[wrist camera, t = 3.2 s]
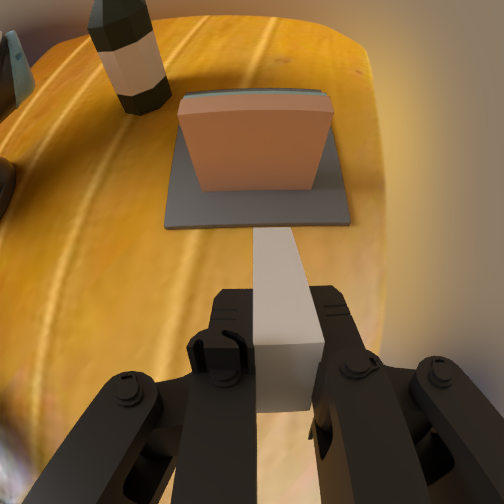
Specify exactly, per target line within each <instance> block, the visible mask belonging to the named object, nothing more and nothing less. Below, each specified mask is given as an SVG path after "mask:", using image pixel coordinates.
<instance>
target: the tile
mask: <svg viewBox="0 0 504 504" xmlns="http://www.w3.org/2000/svg"><path fill="white" fill-rule="evenodd" d="M333 114H334V110H333V107H332V104H331V100H330V97H329V96H327V95H326V93H318V92H300V91H238V92H220V93H207V94H196V95H187V96H184V97H183V99H181V100H180V105H179V109H178V114H177V116H178V119H179V123H180V126H181V129H182V132H183V135H184V138H185V142H186V145H187V148H188V151H189V154H190V157H191V160H192V163H193V166H194V169H195V172H196V175H197V178H198V181H199V184H200V187H201V190H202V192H218V191H247V190H311V188H312V185H313V182H314V179H315V176H316V172H317V169H318V166H319V162H320V159H321V156H322V152H323V149H324V146H325V142H326V139H327V135H328V132H329V128H330V125H331V121H332V118H333Z"/></svg>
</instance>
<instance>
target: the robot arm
mask: <svg viewBox="0 0 504 504" xmlns="http://www.w3.org/2000/svg"><path fill="white" fill-rule="evenodd" d="M34 88H35V80H34V78H33V75H32V72H31V70H30V67H29V64H28V62H27V59H26V57H25V54H24V52H23V49H22V47H21V44H20V41H19V39H18V36H17V34H16V31H14V30H13V31H11V32H8V33H6V35H5V36H4V35H3V34H2V32H1V31H0V123H1V122H2V121H3V120H5V119H6V118H7V117H8V116H9V115H10V114H11V113H12V112H13V111H14V110H15V109H18V107H19V105H20V104H21V103H22V102H23V101H24V100H25V99H27V98H28V97H29V96H30V95H31V94H32V92H33V90H34ZM15 181H16V170H15V167H14V166H13V165H12V164H11V163H10V162H9V161H8V160H7V159H5V158H3V157H0V218H1V217H2V215H3V213H4V211H5V209H6V207H7V205H8V203H9V201H10V198H11V196H12V193H13V190H14V186H15ZM186 348H187V352H188V356H189V360H190V364H191V368H192V372H191V373H189V374H187V375H185V376H183V377H180V378H177V379H173V380H167V381H162V382H156V383H155V382H154V380H153V379H152V378H151V377H150V376H148V375H146V374H144V373H143V372H136V371H128V372H122V373H120V374H118V375H116V376H113V377H112V378H111V379H110V380H109V381H108V382H107V383H105V385H104V386H103V387H102V389H101V390H100V391H99V393H98V394H97V395H96V397H95V398H94V399H93V401H92V402H91V404H90V405H89V406H88V408H87V409H86V410H85V412H84V413H83V415H82V416H81V417H80V419H79V420H78V421H77V423H76V424H75V426H74V427H73V428H72V430H71V431H70V433H69V434H68V435H67V437H66V438H65V440H64V441H63V443H62V444H61V445H60V447H59V448H58V450H57V451H56V453H55V454H54V456H53V457H52V458H51V460H50V461H49V463H48V464H47V466H46V467H45V469H44V470H43V472H42V473H41V475H40V476H39V478H38V479H37V481H36V482H35V484H34V485H33V487H32V488H31V490H30V491H29V493H28V495H27V496H26V498H25V499H24V501H23V502H22V504H158V503H159V501H160V499H161V497H162V495H163V493H164V490H165V488H166V486H167V484H168V482H169V480H170V478H171V476H172V474H173V472H174V470H175V467H176V471H175V478H174V484H173V491H172V497H171V504H257V423H256V413H274V412H294V411H307V410H310V407H311V403H312V404H313V410H314V418H313V421H312V424H311V428H310V431H309V437H308V440H310V439H312V438H313V439H314V447H315V454H316V462H317V470H318V478H319V486H320V495H321V504H504V418H503V417H502V416H501V415H500V414H499V412H498V411H497V410H496V409H495V407H494V406H493V405H492V404H491V403H490V402H489V400H488V399H487V398H486V397H485V396H484V394H483V393H482V392H481V391H480V390H479V389H478V388H477V386H476V385H475V384H474V383H473V382H472V381H471V380H470V379H469V377H468V376H467V375H466V374H465V373H464V372H463V371H462V370H461V368H459V366H458V365H456V364H455V363H454V362H453V361H452V360H450V359H447V358H444V357H441V356H431V357H427V358H425V359H424V360H422V361H421V362H420V363H419V365H418V367H417V369H416V370H414V369H404V368H394V367H389V366H386V365H383V363H382V361H381V360H380V359H379V357H378V356H377V355H375V354H374V353H372V352H371V351H369V350H366V349H365V346H364V344H363V342H362V339H361V337H360V334H359V332H358V329H357V327H356V325H355V322H354V320H353V318H352V315H351V313H350V311H349V308H348V307H347V304H346V302H345V299H344V297H343V295H342V293H340V292H339V291H338V290H337V289H336V288H335V287H333V286H332V285H328V286H309V285H308V282H307V279H306V275H305V272H304V269H303V265H302V262H301V259H300V256H299V252H298V249H297V246H296V243H295V240H294V237H293V234H292V230H291V227H265V228H253V289H222V290H221V291H220V292H219V293H218V295H217V296H216V297H215V298H214V301H213V306H212V312H211V316H210V322H209V327H208V329H205V330H202V331H200V332H198V333H197V334H196V335H195V336H193V337H192V338H191V339H190V341H189V343H188V345H187V347H186Z"/></svg>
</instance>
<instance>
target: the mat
mask: <svg viewBox="0 0 504 504" xmlns="http://www.w3.org/2000/svg"><path fill="white" fill-rule="evenodd" d="M238 91H300V92H318V93H322V92H321V90H314V89H293V88H245V89H224V90H210V91H199V92H190V93H186V94H185V96H187V95H196V94H207V93H220V92H238ZM350 223H351V221H350V215H349V209H348V203H347V198H346V192H345V187H344V182H343V177H342V172H341V167H340V163H339V158H338V154H337V149H336V145H335V141H334V137H333V133H332V129H331V125H330V128H329V132H328V135H327V139H326V142H325V146H324V149H323V152H322V156H321V159H320V162H319V166H318V169H317V172H316V176H315V179H314V182H313V185H312V188H311V190H247V191H218V192H202V190H201V187H200V184H199V181H198V178H197V175H196V172H195V169H194V166H193V163H192V160H191V157H190V154H189V151H188V148H187V145H186V142H185V138H184V135H183V132H182V129H181V126H180V123H179V128H178V133H177V139H176V144H175V150H174V156H173V162H172V169H171V175H170V182H169V189H168V197H167V204H166V213H165V221H164V228H165V229H166V230H170V229H195V228H226V227H266V226H349V224H350Z"/></svg>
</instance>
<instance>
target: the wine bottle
mask: <svg viewBox="0 0 504 504" xmlns="http://www.w3.org/2000/svg"><path fill="white" fill-rule="evenodd" d="M88 31H89V34H90V36H91V38H92V41H93V43H94V45H95V48H96V50H97V52H98V55H99V57H100V59H101V61H102V63H103V66H104V68H105V70H106V72H107V74H108V77H109V79H110V81H111V83H112V85H113V87H114V89H115V92H116V94H117V96H118V98H119V100H120V102H121V104H122V106H123V108H124V110H125V112H126V113H130V114H135V115H139V116H140V115H143V114H146V113H148V112H151V111H154V110H156V109H159V108H161V106H162V105H163V104H164V103H165V102H166V101H167V100H168V99H169V98H170V97H171V96H172V94H171V90H170V87H169V83H168V80H167V77H166V73H165V70H164V66H163V63H162V59H161V56H160V52H159V49H158V45H157V42H156V38H155V35H154V31H153V28H152V24H151V20H150V17H149V13H148V9H147V5H146V2H145V0H94V4H93V8H92V11H91V15H90V20H89V24H88Z"/></svg>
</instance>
